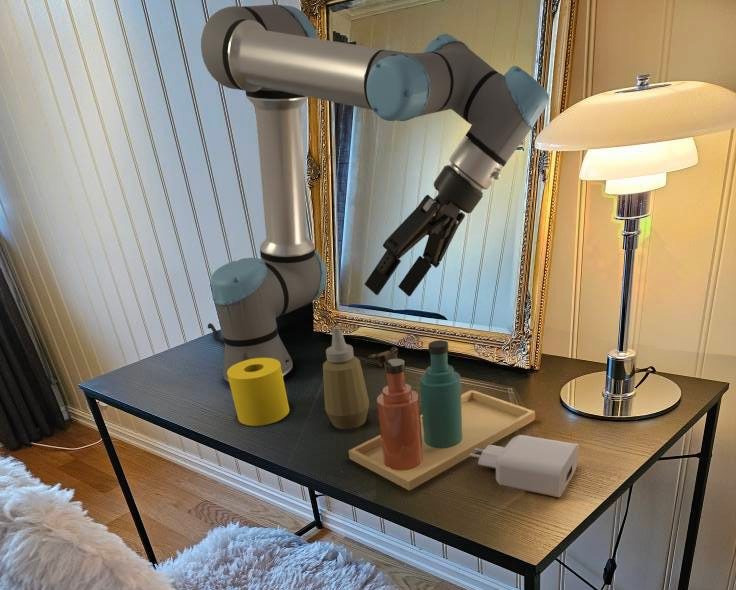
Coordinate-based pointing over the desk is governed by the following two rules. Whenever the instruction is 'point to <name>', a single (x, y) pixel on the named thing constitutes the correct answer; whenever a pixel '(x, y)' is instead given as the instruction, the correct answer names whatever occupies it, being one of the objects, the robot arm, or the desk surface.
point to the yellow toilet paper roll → (258, 391)
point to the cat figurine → (384, 356)
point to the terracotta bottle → (399, 420)
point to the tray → (479, 429)
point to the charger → (532, 464)
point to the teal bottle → (441, 400)
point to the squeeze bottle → (344, 385)
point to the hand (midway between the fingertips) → (388, 290)
